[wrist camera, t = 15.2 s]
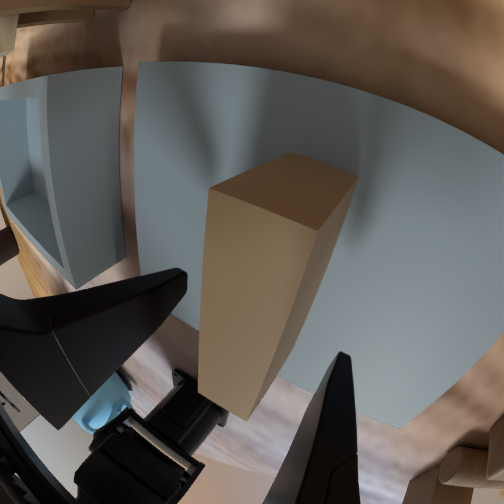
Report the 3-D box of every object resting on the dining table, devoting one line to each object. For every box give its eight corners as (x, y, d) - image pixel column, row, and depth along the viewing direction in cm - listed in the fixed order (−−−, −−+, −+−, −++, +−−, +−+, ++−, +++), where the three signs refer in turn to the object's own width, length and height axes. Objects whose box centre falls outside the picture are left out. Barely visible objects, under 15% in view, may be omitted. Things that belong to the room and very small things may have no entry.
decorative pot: (119, 392, 48) (76, 433, 38) (69, 328, 45) (20, 367, 35) (155, 404, 38) (100, 461, 28) (89, 321, 35) (21, 376, 25)
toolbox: (126, 257, 21) (27, 324, 14) (39, 195, 27) (-26, 228, 20) (140, -33, 9) (-12, -38, 2) (37, 20, 15) (-43, 37, 7)
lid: (405, 400, 14) (376, 495, 9) (164, 278, 20) (94, 332, 15) (552, 191, 6) (639, 280, 1) (171, 62, 12) (51, 70, 7)
